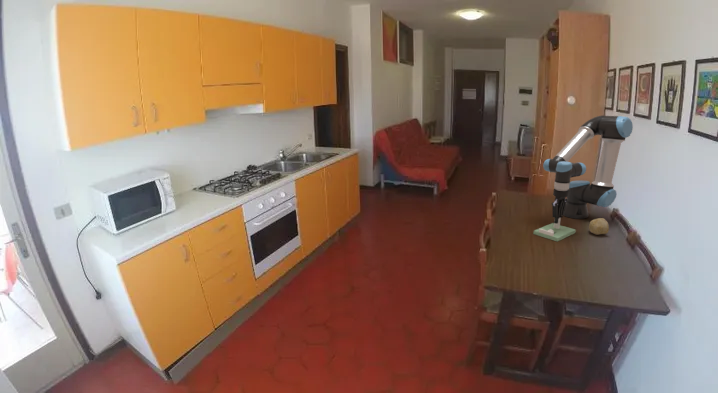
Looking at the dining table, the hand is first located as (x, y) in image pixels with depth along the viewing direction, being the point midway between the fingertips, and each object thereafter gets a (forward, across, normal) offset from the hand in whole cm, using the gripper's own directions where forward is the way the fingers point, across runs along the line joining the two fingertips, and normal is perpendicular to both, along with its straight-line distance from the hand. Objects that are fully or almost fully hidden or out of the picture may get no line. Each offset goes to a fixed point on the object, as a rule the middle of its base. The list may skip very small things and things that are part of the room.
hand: (556, 227), depth 212 cm
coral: (+4, -16, +15) cm, 23 cm away
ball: (+1, +6, 0) cm, 6 cm away
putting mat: (+3, +2, 0) cm, 3 cm away
